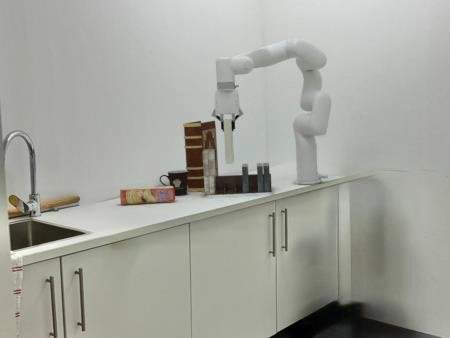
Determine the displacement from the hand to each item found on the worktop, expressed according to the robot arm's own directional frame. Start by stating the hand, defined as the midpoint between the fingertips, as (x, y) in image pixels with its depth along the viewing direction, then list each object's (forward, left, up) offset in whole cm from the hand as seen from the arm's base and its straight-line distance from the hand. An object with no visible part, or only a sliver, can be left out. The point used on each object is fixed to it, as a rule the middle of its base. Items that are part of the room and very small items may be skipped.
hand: (228, 130), depth 260 cm
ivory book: (0, 0, -13) cm, 13 cm away
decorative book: (+14, -22, -27) cm, 37 cm away
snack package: (+33, +12, -27) cm, 44 cm away
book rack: (-3, -1, -27) cm, 27 cm away
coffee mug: (+24, -6, -27) cm, 37 cm away
